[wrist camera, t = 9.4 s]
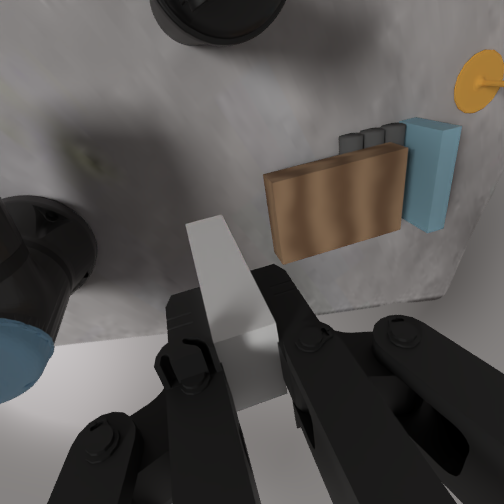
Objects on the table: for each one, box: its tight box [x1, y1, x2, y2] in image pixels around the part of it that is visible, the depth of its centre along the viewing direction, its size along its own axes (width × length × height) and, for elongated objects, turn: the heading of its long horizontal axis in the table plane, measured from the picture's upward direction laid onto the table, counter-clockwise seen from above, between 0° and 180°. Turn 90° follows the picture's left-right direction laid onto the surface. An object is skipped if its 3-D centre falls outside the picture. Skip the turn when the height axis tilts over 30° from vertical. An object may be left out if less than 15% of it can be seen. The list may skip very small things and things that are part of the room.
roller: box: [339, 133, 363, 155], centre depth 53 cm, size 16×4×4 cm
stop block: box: [399, 117, 462, 233], centre depth 52 cm, size 3×16×9 cm, turn 9°
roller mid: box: [360, 128, 385, 149], centre depth 53 cm, size 16×4×4 cm
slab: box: [263, 142, 408, 265], centre depth 48 cm, size 20×13×4 cm, turn 99°
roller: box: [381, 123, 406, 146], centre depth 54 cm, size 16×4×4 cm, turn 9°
